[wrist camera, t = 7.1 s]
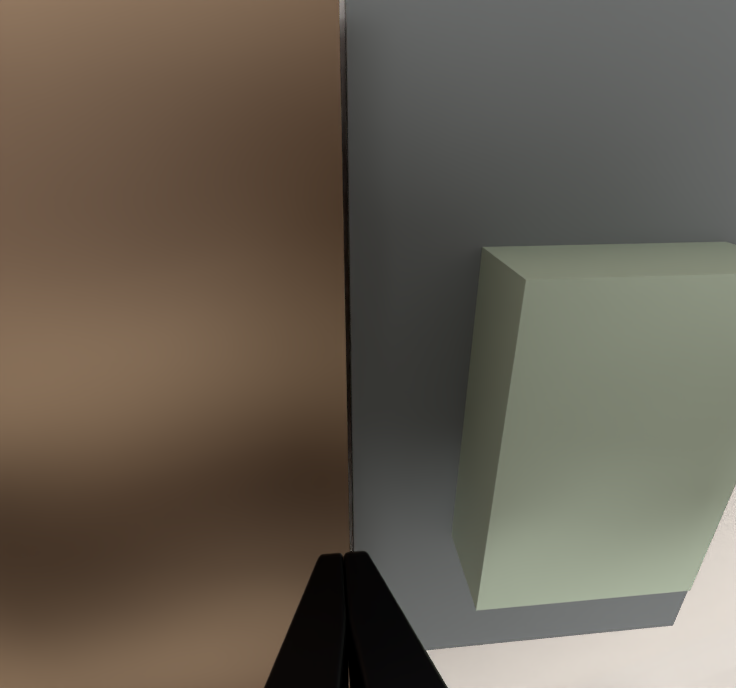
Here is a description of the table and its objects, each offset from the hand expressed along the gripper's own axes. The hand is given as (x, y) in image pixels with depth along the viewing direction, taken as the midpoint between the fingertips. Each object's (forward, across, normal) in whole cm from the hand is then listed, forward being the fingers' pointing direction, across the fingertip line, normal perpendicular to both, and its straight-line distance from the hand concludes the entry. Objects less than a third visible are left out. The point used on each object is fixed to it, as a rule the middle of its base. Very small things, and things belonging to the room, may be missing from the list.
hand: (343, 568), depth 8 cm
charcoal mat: (+5, -6, 0) cm, 8 cm away
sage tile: (+2, -6, 0) cm, 7 cm away
